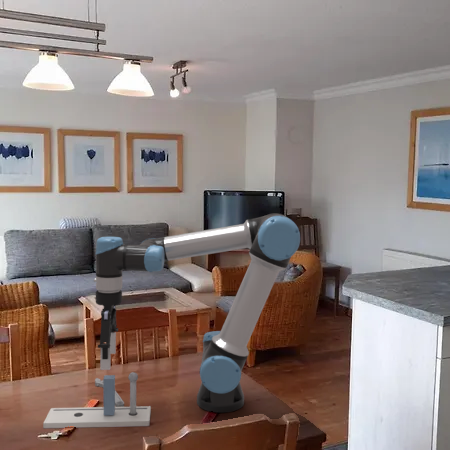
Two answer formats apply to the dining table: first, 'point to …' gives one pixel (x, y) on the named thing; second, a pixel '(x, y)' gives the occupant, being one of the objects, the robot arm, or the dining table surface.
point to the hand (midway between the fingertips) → (108, 361)
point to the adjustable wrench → (118, 400)
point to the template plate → (101, 414)
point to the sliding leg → (109, 394)
